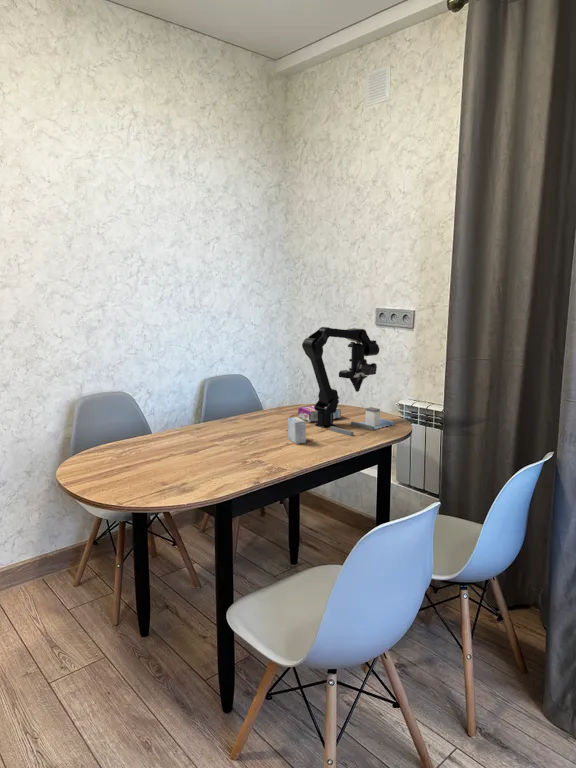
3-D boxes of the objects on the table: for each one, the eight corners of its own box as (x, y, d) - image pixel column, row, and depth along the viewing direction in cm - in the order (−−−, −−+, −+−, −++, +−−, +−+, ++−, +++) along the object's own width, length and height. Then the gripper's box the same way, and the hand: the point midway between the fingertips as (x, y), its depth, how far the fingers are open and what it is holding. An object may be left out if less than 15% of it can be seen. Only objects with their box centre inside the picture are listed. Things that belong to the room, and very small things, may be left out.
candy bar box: (309, 423, 235) (341, 418, 242) (309, 412, 234) (341, 407, 241) (297, 418, 245) (328, 413, 252) (297, 407, 244) (328, 403, 251)
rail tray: (350, 436, 213) (350, 432, 213) (329, 430, 222) (329, 426, 222) (393, 424, 230) (393, 421, 230) (372, 419, 239) (372, 416, 239)
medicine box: (306, 443, 204) (306, 421, 202) (295, 444, 202) (295, 422, 201) (298, 438, 211) (298, 416, 210) (287, 439, 209) (287, 417, 208)
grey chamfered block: (374, 426, 227) (374, 410, 226) (365, 424, 231) (365, 408, 230) (379, 424, 229) (379, 409, 228) (370, 422, 233) (371, 407, 232)
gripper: (357, 360, 223) (356, 396, 226) (385, 356, 235) (384, 391, 237) (338, 358, 231) (337, 393, 234) (366, 354, 243) (366, 388, 246)
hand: (357, 391), depth 238 cm, fingers closed
